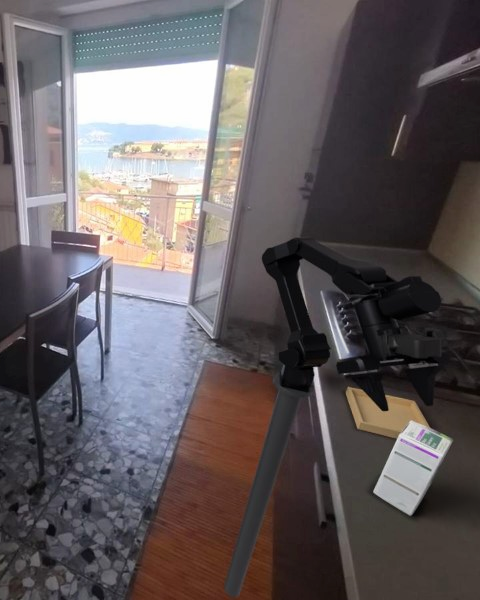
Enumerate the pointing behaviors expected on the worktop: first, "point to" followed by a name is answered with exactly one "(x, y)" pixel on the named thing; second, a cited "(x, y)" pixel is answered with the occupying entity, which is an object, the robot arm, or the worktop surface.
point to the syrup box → (412, 466)
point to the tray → (383, 413)
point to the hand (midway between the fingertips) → (407, 408)
